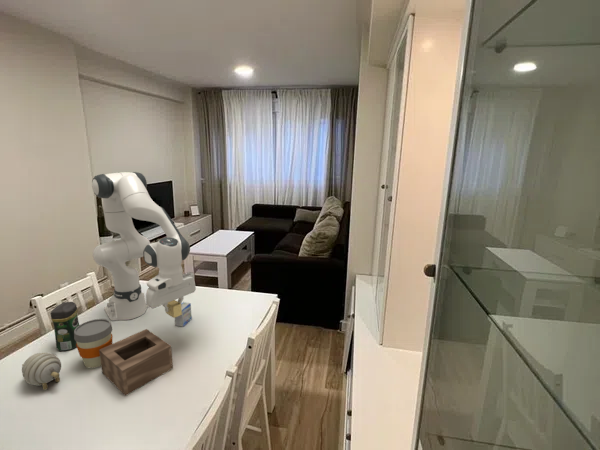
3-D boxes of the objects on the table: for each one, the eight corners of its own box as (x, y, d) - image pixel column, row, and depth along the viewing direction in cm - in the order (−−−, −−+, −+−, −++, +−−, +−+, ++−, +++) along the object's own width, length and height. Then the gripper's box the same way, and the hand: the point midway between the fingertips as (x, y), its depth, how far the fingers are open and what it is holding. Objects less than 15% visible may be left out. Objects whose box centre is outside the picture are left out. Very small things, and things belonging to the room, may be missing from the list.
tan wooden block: (165, 312, 134) (164, 302, 133) (173, 309, 137) (172, 299, 135) (174, 318, 130) (173, 306, 129) (181, 314, 133) (181, 303, 132)
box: (102, 373, 122) (99, 349, 119) (148, 350, 136) (146, 328, 133) (125, 395, 111) (122, 370, 109) (172, 368, 125) (171, 345, 123)
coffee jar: (65, 339, 142) (58, 300, 137) (85, 337, 143) (79, 299, 138) (53, 352, 132) (45, 311, 128) (74, 351, 134) (67, 310, 129)
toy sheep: (44, 368, 123) (39, 342, 121) (77, 378, 118) (72, 352, 116) (13, 387, 114) (6, 359, 111) (47, 399, 109) (42, 371, 106)
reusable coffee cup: (76, 375, 120) (70, 339, 117) (80, 355, 131) (75, 322, 127) (115, 365, 126) (110, 331, 122) (116, 347, 137) (112, 315, 133)
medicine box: (183, 327, 153) (182, 310, 151) (174, 325, 154) (173, 309, 152) (191, 318, 161) (191, 302, 159) (183, 317, 162) (182, 301, 159)
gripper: (189, 268, 139) (190, 297, 143) (142, 283, 123) (145, 316, 127) (198, 272, 136) (199, 302, 139) (151, 288, 120) (154, 321, 123)
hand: (173, 309), depth 133 cm, fingers closed on tan wooden block, 3 cm apart
